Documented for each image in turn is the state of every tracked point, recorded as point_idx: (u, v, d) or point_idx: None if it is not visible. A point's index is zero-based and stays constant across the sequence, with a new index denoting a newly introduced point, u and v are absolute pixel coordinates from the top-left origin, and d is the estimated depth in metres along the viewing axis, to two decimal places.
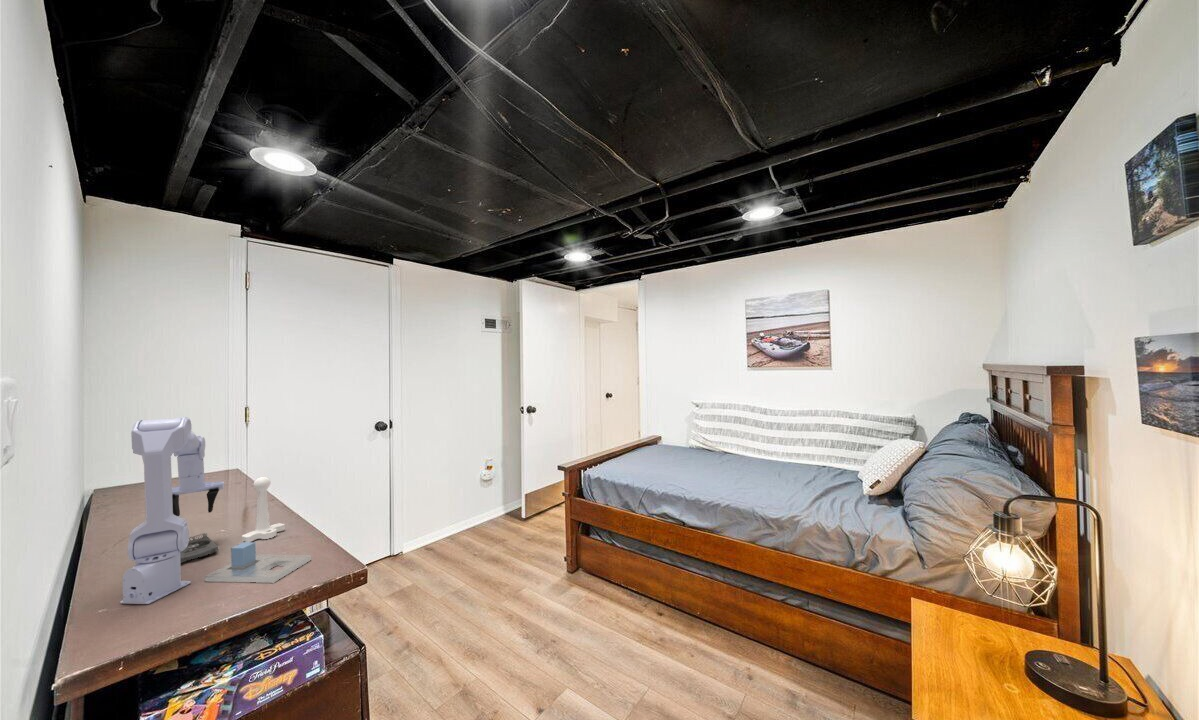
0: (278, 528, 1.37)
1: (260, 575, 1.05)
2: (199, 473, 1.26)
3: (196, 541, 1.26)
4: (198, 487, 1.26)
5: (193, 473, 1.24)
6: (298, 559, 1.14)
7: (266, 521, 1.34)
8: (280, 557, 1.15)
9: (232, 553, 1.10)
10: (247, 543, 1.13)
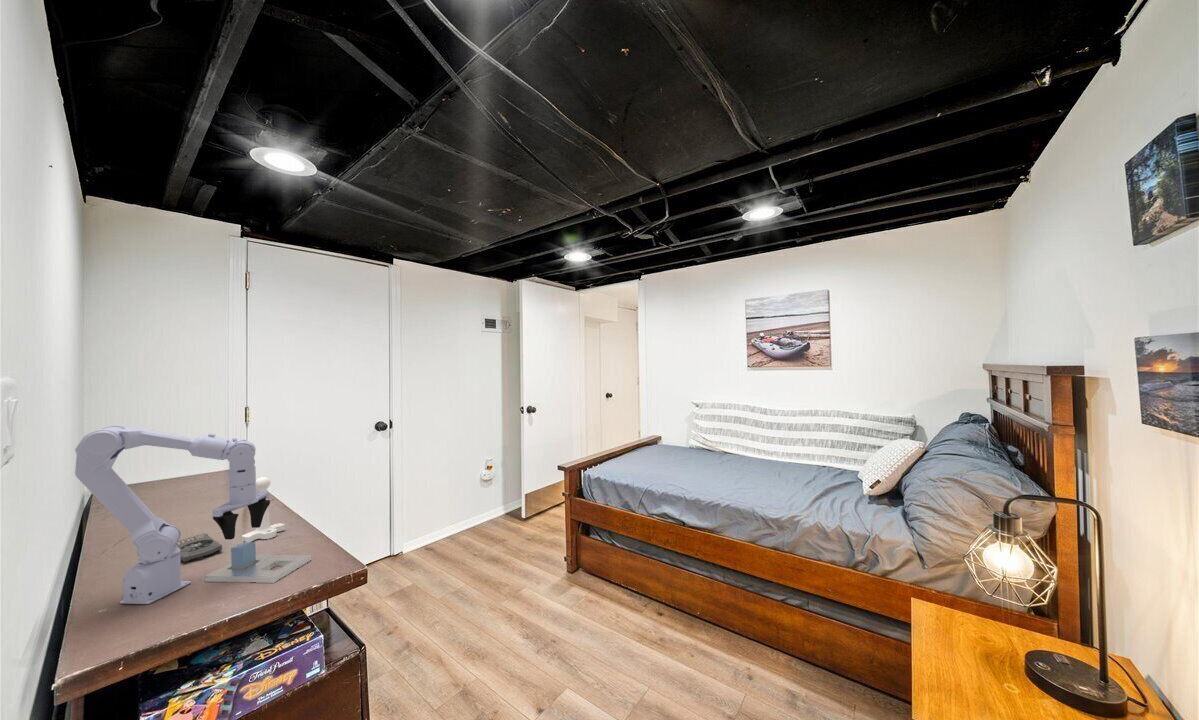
0: (278, 528, 1.37)
1: (260, 575, 1.05)
2: (233, 486, 1.09)
3: (198, 540, 1.26)
4: (229, 501, 1.10)
5: (229, 484, 1.09)
6: (298, 559, 1.14)
7: (266, 521, 1.34)
8: (280, 557, 1.15)
9: (232, 553, 1.10)
10: (247, 543, 1.13)
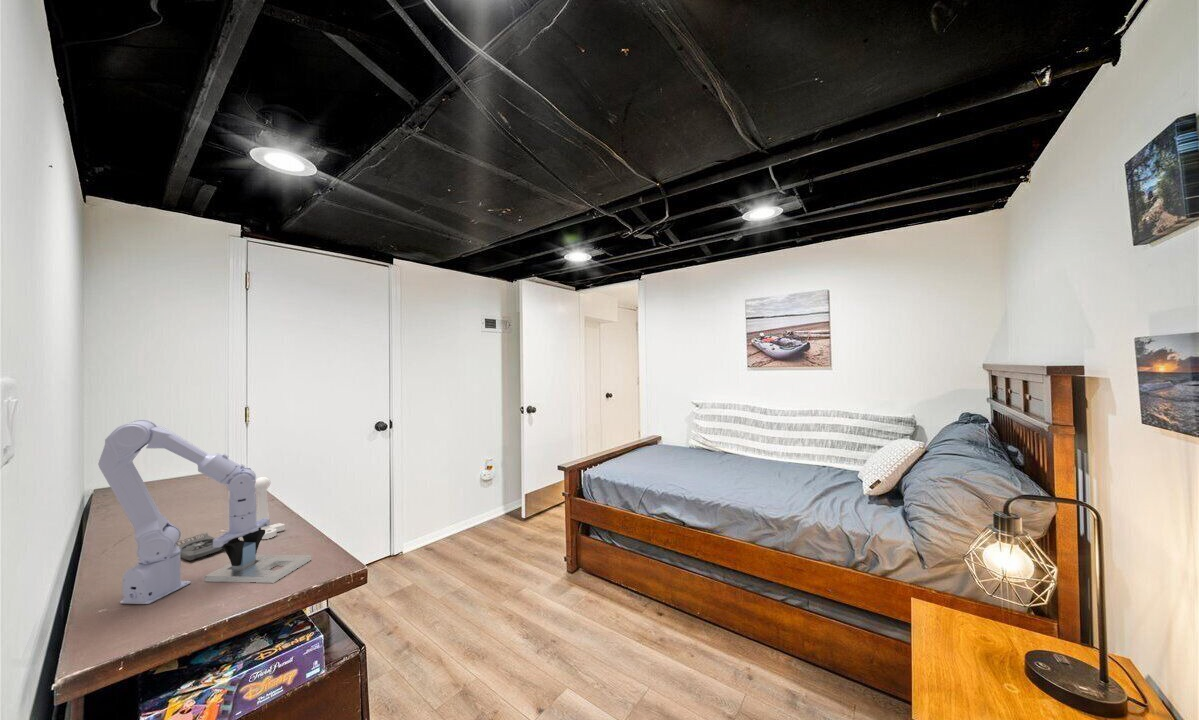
0: (278, 528, 1.37)
1: (260, 575, 1.05)
2: (233, 515, 1.09)
3: (199, 540, 1.27)
4: None
5: (229, 513, 1.09)
6: (298, 559, 1.14)
7: None
8: (280, 557, 1.15)
9: None
10: (247, 543, 1.13)
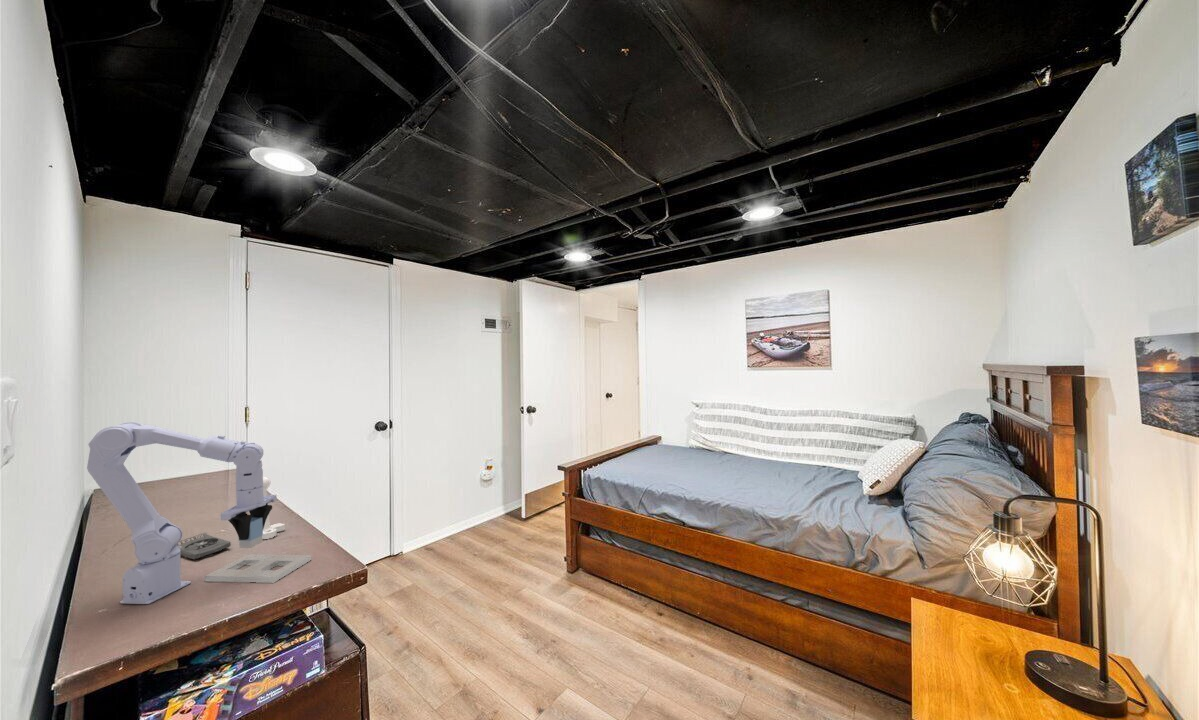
0: (278, 528, 1.37)
1: (260, 575, 1.05)
2: (239, 489, 1.09)
3: (200, 540, 1.27)
4: None
5: (236, 487, 1.09)
6: (298, 559, 1.14)
7: (266, 521, 1.34)
8: (280, 557, 1.15)
9: None
10: (254, 518, 1.13)
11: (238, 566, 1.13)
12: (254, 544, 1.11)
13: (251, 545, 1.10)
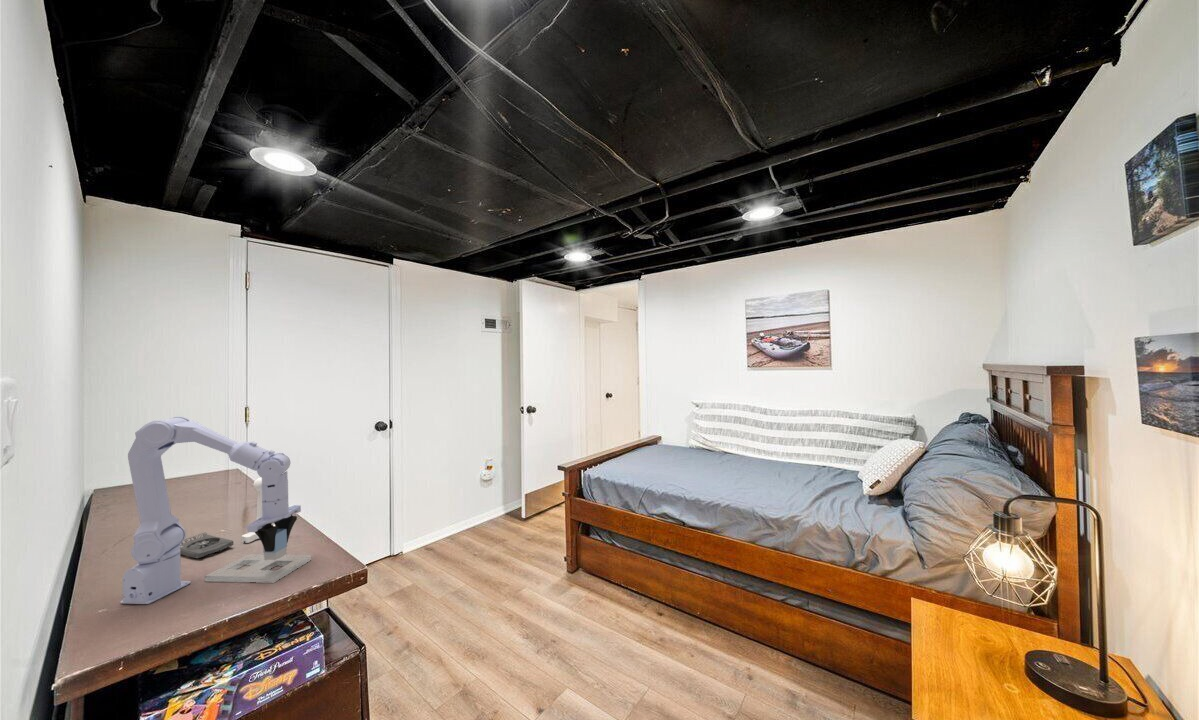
0: None
1: (260, 575, 1.05)
2: (264, 500, 1.08)
3: (201, 539, 1.27)
4: (262, 516, 1.09)
5: None
6: (298, 559, 1.14)
7: None
8: (280, 557, 1.15)
9: None
10: (278, 529, 1.12)
11: (238, 566, 1.13)
12: (279, 556, 1.10)
13: (276, 557, 1.09)
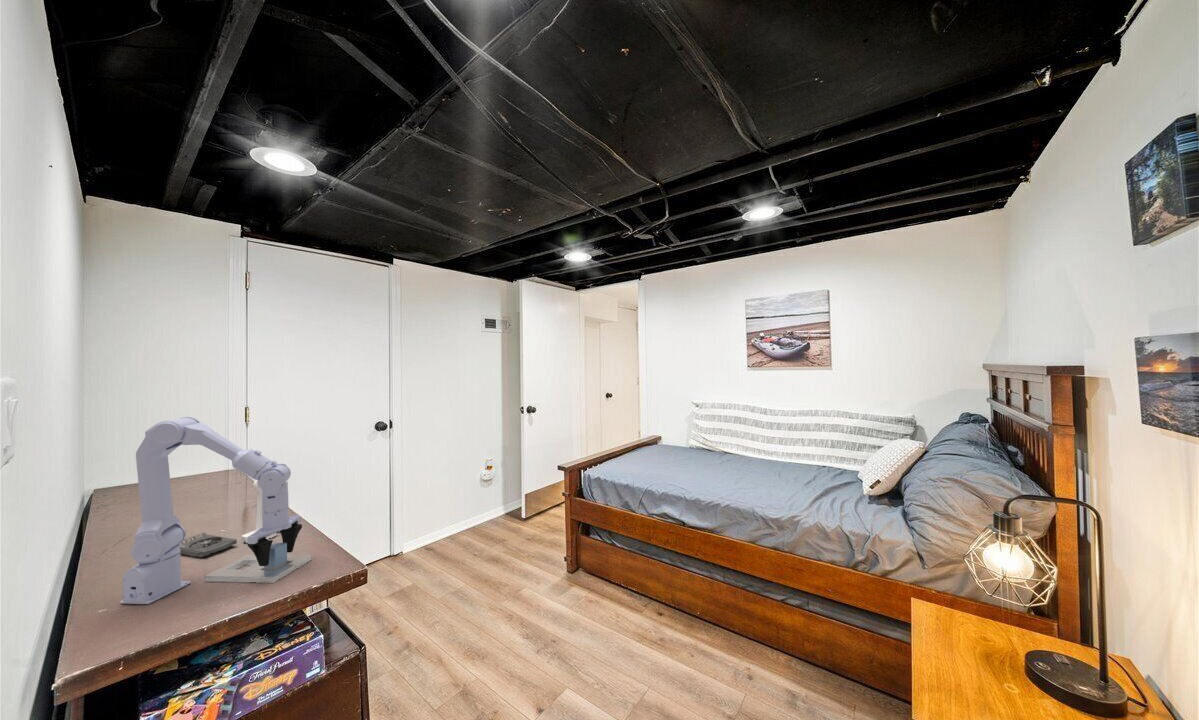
0: None
1: (260, 575, 1.05)
2: (264, 512, 1.08)
3: (202, 539, 1.27)
4: (262, 527, 1.09)
5: (262, 509, 1.09)
6: (298, 559, 1.14)
7: None
8: None
9: None
10: (278, 543, 1.12)
11: (238, 566, 1.13)
12: None
13: None
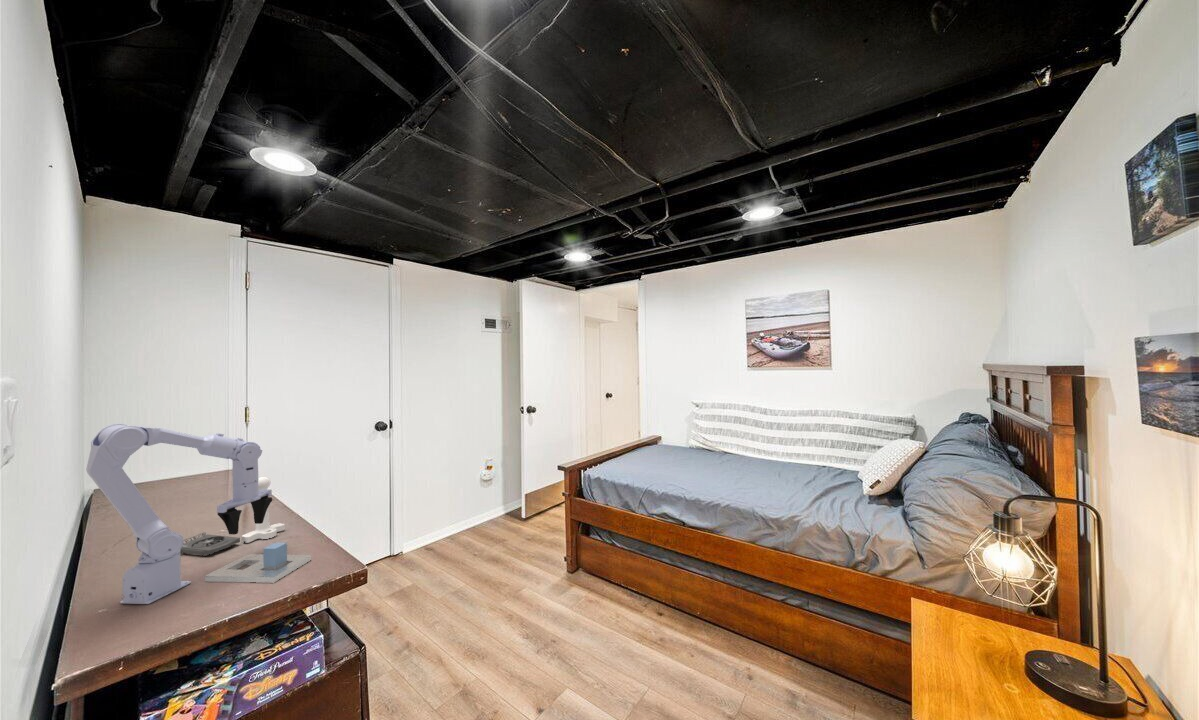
0: (278, 528, 1.37)
1: (260, 575, 1.05)
2: (241, 483, 1.15)
3: (203, 539, 1.28)
4: (233, 498, 1.16)
5: (235, 482, 1.15)
6: (298, 559, 1.14)
7: (266, 521, 1.34)
8: None
9: (264, 554, 1.09)
10: (278, 543, 1.12)
11: (238, 566, 1.13)
12: None
13: None
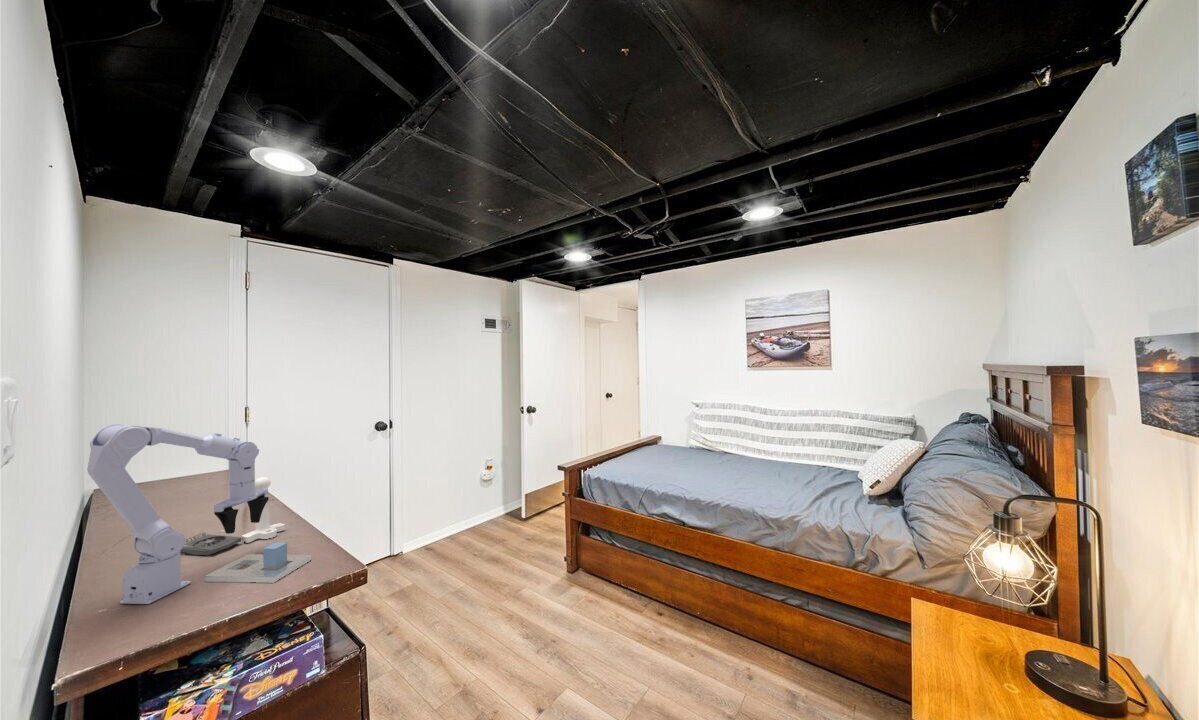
0: (278, 528, 1.37)
1: (260, 575, 1.05)
2: (239, 482, 1.16)
3: (203, 539, 1.28)
4: None
5: (233, 481, 1.15)
6: (298, 559, 1.14)
7: (266, 521, 1.35)
8: None
9: (264, 554, 1.09)
10: (278, 543, 1.12)
11: (238, 566, 1.13)
12: None
13: None
